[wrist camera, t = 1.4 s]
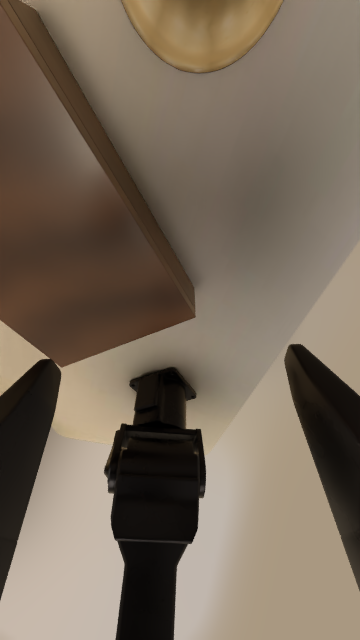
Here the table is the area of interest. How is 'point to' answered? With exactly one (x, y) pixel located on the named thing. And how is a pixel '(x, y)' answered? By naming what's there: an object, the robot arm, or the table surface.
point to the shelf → (72, 213)
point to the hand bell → (201, 29)
